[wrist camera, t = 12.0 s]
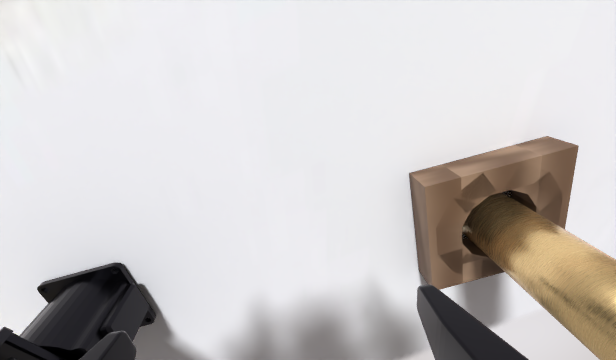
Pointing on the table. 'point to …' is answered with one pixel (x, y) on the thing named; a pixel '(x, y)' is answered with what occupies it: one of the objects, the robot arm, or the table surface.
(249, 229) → the table surface
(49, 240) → the table surface
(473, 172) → the jig plate
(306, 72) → the table surface
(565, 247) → the bronze sleeve
